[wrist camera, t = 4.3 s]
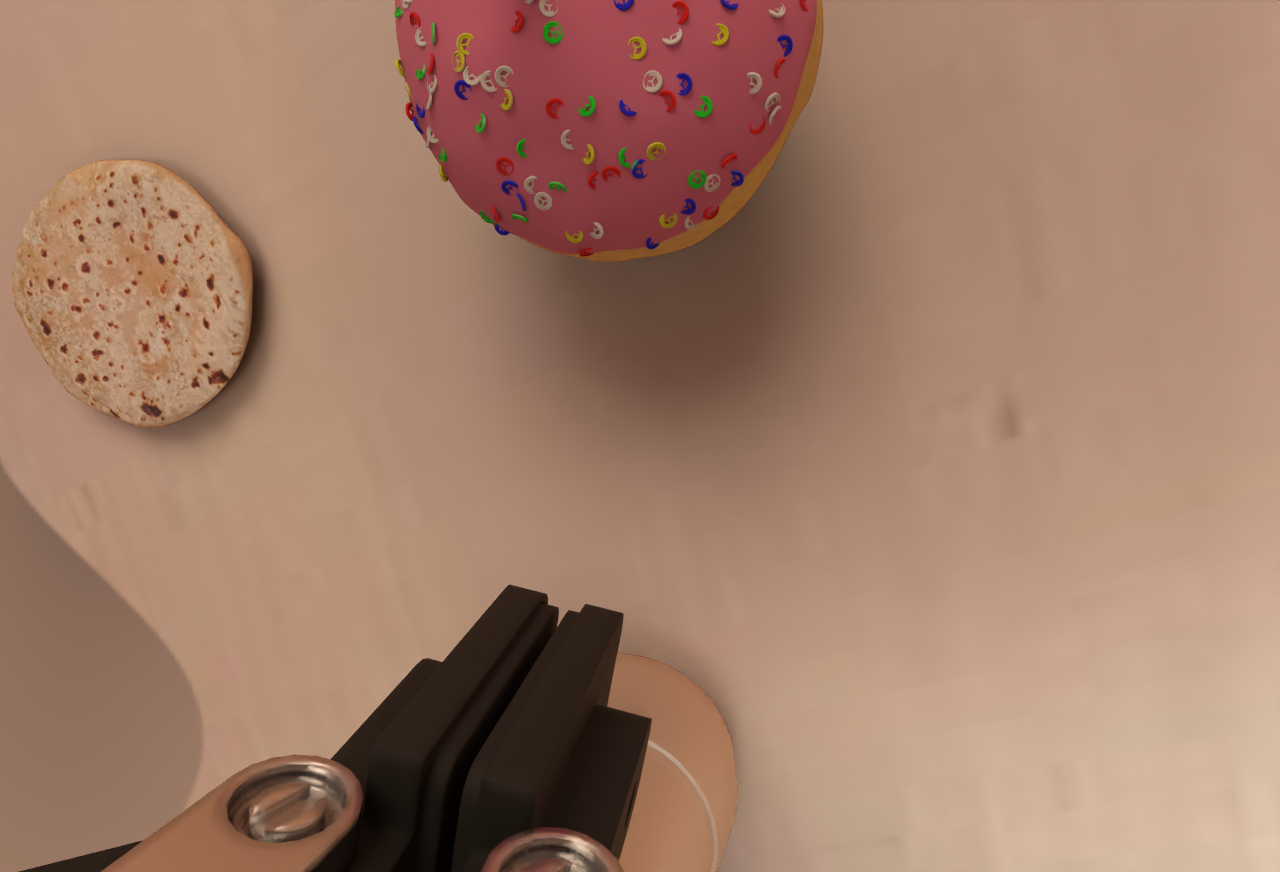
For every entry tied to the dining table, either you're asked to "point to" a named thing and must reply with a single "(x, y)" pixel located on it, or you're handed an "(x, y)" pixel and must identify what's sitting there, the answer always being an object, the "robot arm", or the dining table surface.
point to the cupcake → (607, 111)
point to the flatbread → (134, 291)
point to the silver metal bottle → (676, 771)
